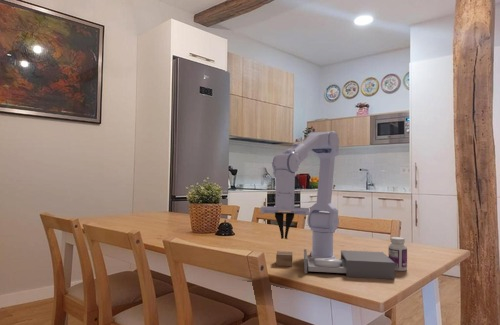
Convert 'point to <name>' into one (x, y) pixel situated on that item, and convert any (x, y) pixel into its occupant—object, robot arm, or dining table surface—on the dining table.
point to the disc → (328, 262)
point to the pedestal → (283, 258)
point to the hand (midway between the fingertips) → (284, 238)
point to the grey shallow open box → (311, 267)
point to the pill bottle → (398, 253)
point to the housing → (368, 264)
